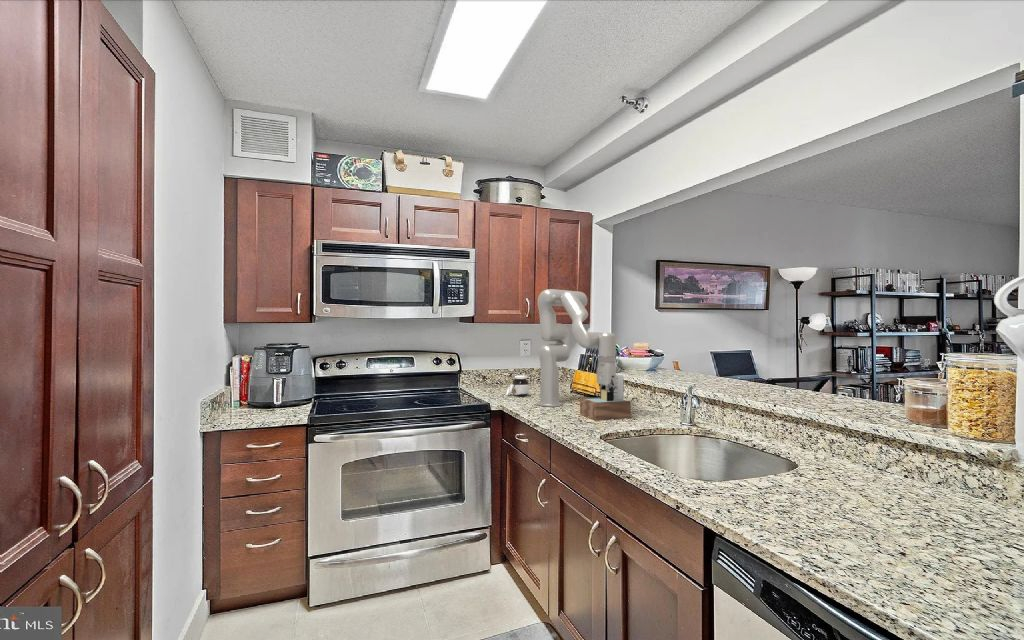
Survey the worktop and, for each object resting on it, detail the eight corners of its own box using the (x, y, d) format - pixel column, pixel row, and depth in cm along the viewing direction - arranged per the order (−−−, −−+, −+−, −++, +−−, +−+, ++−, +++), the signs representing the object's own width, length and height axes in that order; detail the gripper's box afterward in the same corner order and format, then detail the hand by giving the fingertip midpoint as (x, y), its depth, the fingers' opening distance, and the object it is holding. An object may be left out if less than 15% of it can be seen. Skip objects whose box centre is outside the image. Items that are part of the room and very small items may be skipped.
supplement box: (623, 408, 239) (623, 375, 240) (604, 407, 241) (605, 374, 241) (622, 405, 249) (623, 373, 249) (604, 404, 251) (605, 372, 251)
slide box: (580, 414, 221) (580, 398, 221) (613, 412, 227) (613, 396, 228) (595, 420, 208) (595, 402, 208) (630, 418, 214) (630, 400, 214)
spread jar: (530, 396, 276) (530, 376, 276) (514, 398, 270) (514, 377, 270) (518, 393, 286) (519, 374, 286) (503, 395, 279) (503, 375, 280)
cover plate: (585, 402, 221) (585, 389, 221) (614, 400, 226) (614, 387, 226) (598, 406, 210) (598, 392, 210) (628, 404, 215) (628, 391, 216)
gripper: (590, 358, 225) (590, 397, 225) (610, 361, 209) (609, 403, 209) (604, 358, 228) (604, 396, 227) (624, 361, 212) (624, 402, 211)
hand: (606, 399), depth 218 cm, fingers closed on cover plate, 5 cm apart
